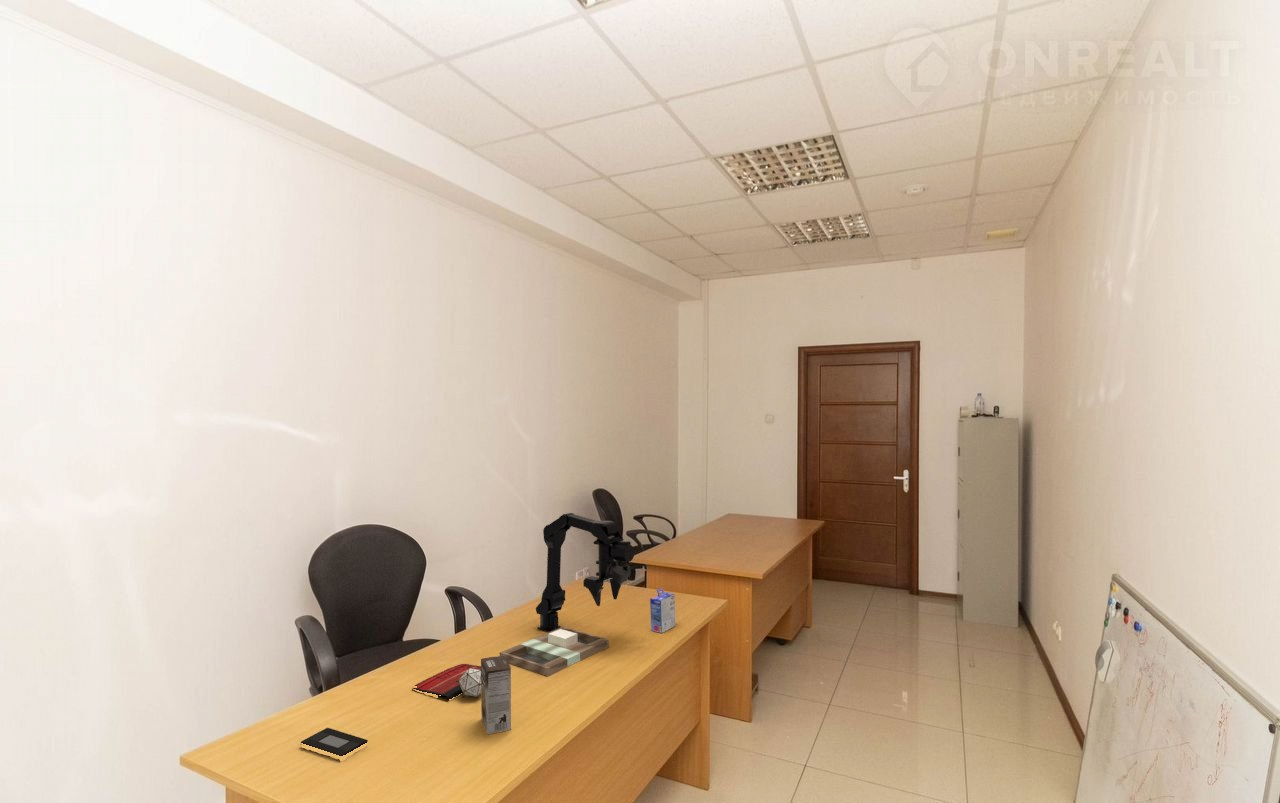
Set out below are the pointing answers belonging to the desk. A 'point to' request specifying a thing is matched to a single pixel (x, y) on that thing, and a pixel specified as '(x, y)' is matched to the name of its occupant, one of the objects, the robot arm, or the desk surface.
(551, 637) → the cream block
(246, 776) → the desk surface
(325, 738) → the black computer chip
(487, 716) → the coffee box
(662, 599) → the ink cartridge box
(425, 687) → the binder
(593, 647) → the trap deck
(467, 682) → the game die
